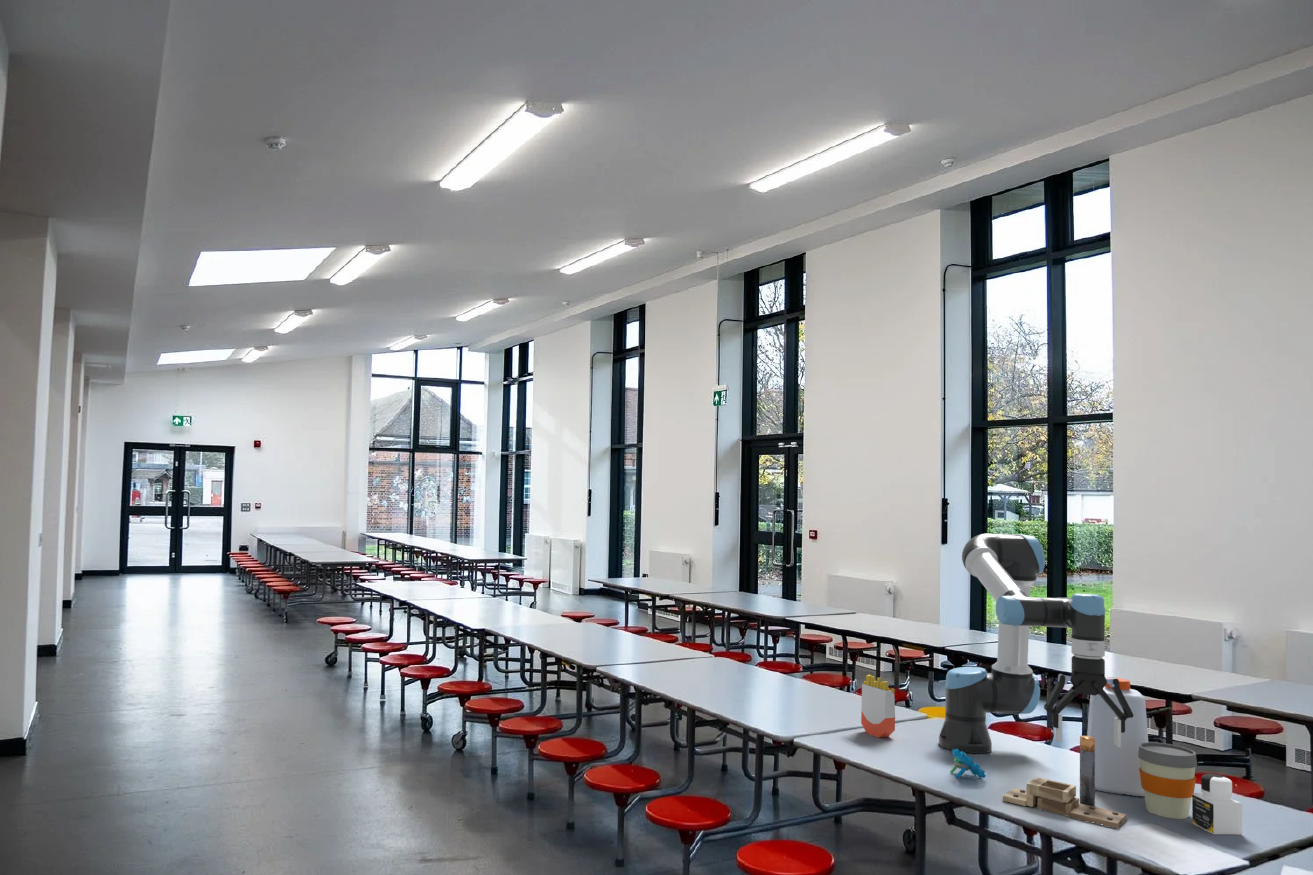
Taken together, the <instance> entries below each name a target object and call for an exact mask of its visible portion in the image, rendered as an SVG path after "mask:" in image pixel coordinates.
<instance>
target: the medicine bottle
mask: <svg viewBox="0 0 1313 875" xmlns="http://www.w3.org/2000/svg"><path fill="white" fill-rule="evenodd" d="M1200 777H1201V778H1200V784H1201V786H1200V789H1201V790H1200V791H1201V792H1194V793H1193V794H1192V797H1191V801H1192V802H1191V803H1192V804H1191V805H1192V806H1191V808H1192V809H1191V810H1192V812H1191V813H1192V815H1191V816H1192V817H1191V818H1192V820H1191V821H1192V824H1193V826H1196V827H1198V828H1200V829H1202V830H1203V831H1206V832H1208V833H1210V834H1212V835H1215V836H1216V835H1220V836H1221V835H1228V836H1229V835H1230V836H1232V835H1233V836H1235V835H1236V836H1241V835H1242V834H1243V812H1242V811H1243V809H1242V808H1243V806H1242V805H1243V804H1242V803H1241V801H1237V800H1235V799H1234V798H1232V797H1233V781H1232V780H1231V779H1230V778H1228V777H1227V776H1224V775H1221V774H1215V773H1206V774H1203V775H1202V776H1200Z"/></svg>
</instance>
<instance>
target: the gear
mask: <svg viewBox="0 0 1313 875" xmlns="http://www.w3.org/2000/svg"><path fill="white" fill-rule="evenodd" d="M951 753H952V756H953V757H954V759H953V761H954V763H953V765H954V766H953V767H952V768H951V770H949V772H950V774H953V773H954V772H956V770H957V769H960V770H959V771H958V773H956V775H955V777H956V778H957V779H958V778H959V779H960V778H961V777H962V776H963V775H964V773H965V772H967V771H970V772H971V774H973V776H977V777H978V778H979V779H982V778H983V779H985V778H986V777H987V776H986V772H985V770H984V769H982V768H981V765H980V764H978V763H975V762H974V759H973V757H972V756H971V757H970V756H967V754H966V752H962V751H961V752H960V751H959V750H958V749H956V750H955V749H953V750H951Z"/></svg>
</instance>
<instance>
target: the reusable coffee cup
mask: <svg viewBox="0 0 1313 875" xmlns="http://www.w3.org/2000/svg"><path fill="white" fill-rule="evenodd" d="M1138 757H1139V758H1140V765H1141V767H1140V768H1139V771H1140V779H1141V786H1142V788H1143V789H1144V795H1145V796H1144V800H1145V808H1146V810H1147V811H1148V813H1151V814H1153V815H1156V816H1159V817H1163V818H1169V819H1179V820H1183V819H1187V817H1188V818H1189V816H1190V815H1189V814H1190V809H1191V803H1192V802H1191V801H1192V794H1193V793H1195V787H1196V780H1197V777H1196V776H1195V774H1196V773H1195V772H1196V768H1197V766H1198V762H1197V761H1198V760H1197V753H1196V752H1195V751H1194V750H1192V749H1190V748H1187V747H1184V746H1181V745H1175V744H1171V743H1162V742H1148V743H1141V744H1140V745H1139V751H1138Z"/></svg>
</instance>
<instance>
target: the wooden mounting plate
mask: <svg viewBox="0 0 1313 875" xmlns="http://www.w3.org/2000/svg"><path fill="white" fill-rule="evenodd" d="M1040 809H1041V810H1040ZM1037 810H1040V811H1044V810H1046V811H1045V812H1050V813H1054V814H1057V815H1061V816H1065V815H1067V816H1066V817H1070V819H1073V818H1074V820H1078V821H1082V822H1086V823H1090V822H1094V823H1098V824H1097V825H1099V824H1103V825H1106V826H1105V827H1107V826H1109V827H1108V828H1111V827H1113V829H1115V828H1117V829H1119V828H1120V827H1121V826H1122V825H1123V824H1124V823H1125V821H1127V819H1128V817H1127V816H1128V814H1127V813H1124V812H1123V813H1122V812H1118V811H1114V810H1110V809H1106V808H1102V807H1097V806H1089V805H1084V804H1081V803H1080V797H1077V796H1075V797H1074V798H1073V799H1071V800H1070V801H1069V802H1068V803H1066V802H1061V801H1057V800H1052V799H1048V798H1044V797H1038V803H1037ZM1094 823H1093V824H1094ZM1103 825H1102V826H1103ZM1117 829H1116V830H1117Z"/></svg>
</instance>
